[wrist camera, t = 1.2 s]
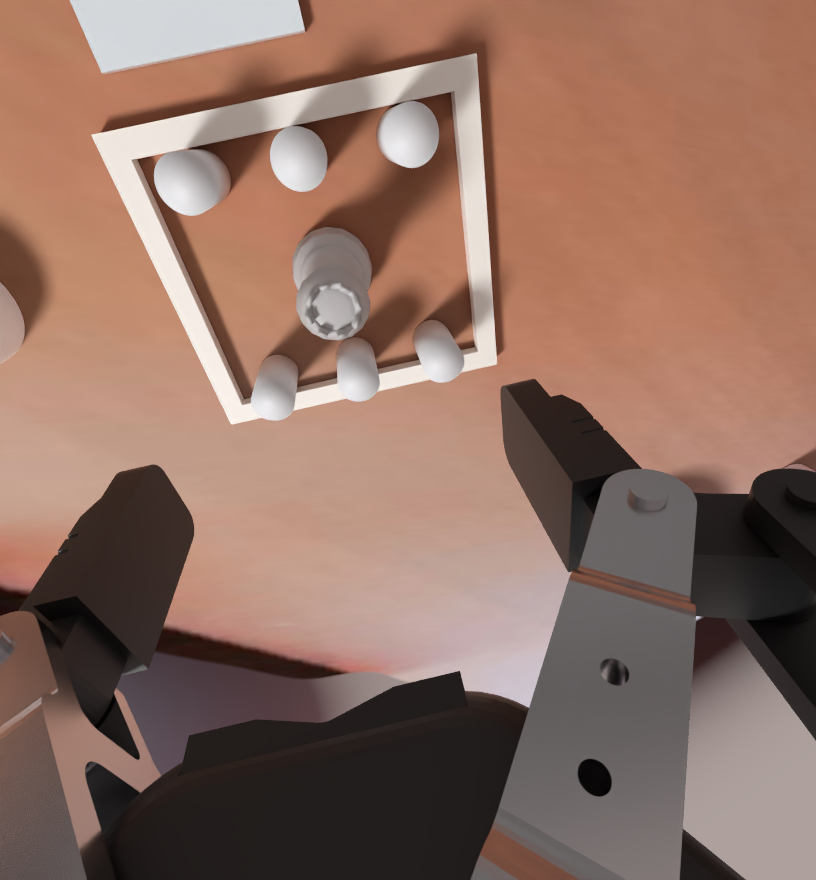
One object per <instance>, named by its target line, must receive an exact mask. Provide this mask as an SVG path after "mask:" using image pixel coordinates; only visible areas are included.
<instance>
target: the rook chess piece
mask: <svg viewBox="0 0 816 880" xmlns="http://www.w3.org/2000/svg"><path fill="white" fill-rule="evenodd" d="M371 274H372V265H371V262H370V258H369V255H368V251H367V250H366V248H365V247H364V246H363V244H362V243H361V242H360V240H359V239H358V238H357V237H356V236H354V235H352V234H351V233H349V232H347V231H346V230H344V229H340V228H332V227H324V228H321V229H317V230H314V231H311V232H310V233H309V234H308V235H307V236H305V237H304V238H303V239H302V240H301V241H300V242H299V244H298V246H297V248H296V251H295V253H294V255H293V279H294V281H295V284H296V287H297V289H298V293H297V307H296V309H297V312H298V314H299V317H300V319H301V322H302V323H303V324H304V325H305V326H306V327H307V329H308V330H309V331H310V332H311V333H313V334H315V335H317V336H319V337H321V338H323V339H327V340H342V339H345V338H349V337H352V336H353V335H354V334H356V333H357V332H358V331H359V330H361V329H362V328H363V326H364V324H365V322H366V320H367V319H368V317H369V310H370V300H369V296H368V293H367V291H368V289H369V287H370V284H371Z"/></svg>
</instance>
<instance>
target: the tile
mask: <svg viewBox="0 0 816 880" xmlns="http://www.w3.org/2000/svg"><path fill="white" fill-rule="evenodd" d="M70 2H71V4H72V6H73V9H74V11H75V13H76V16H77V18H78V20H79V22H80V25H81V27H82V29H83V31H84V34H85V36H86V38H87V40H88V43H89V45H90V47H91V49H92V52H93V54H94V56H95V58H96V61H97V63H98V65H99V67H100V70H101V72H102V73H104V74H110V73H114V72H119V71H124V70H129V69H134V68H138V67H143V66H148V65H153V64H157V63H162V62H167V61H172V60H177V59H181V58H186V57H191V56H196V55H200V54H205V53H210V52H215V51H220V50H224V49H229V48H234V47H239V46H243V45H248V44H253V43H258V42H263V41H267V40H272V39H277V38H282V37H286V36H291V35H296V34H301V33H305V29H304V24H303V20H302V16H301V11H300V7H299V3H298V0H70Z"/></svg>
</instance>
